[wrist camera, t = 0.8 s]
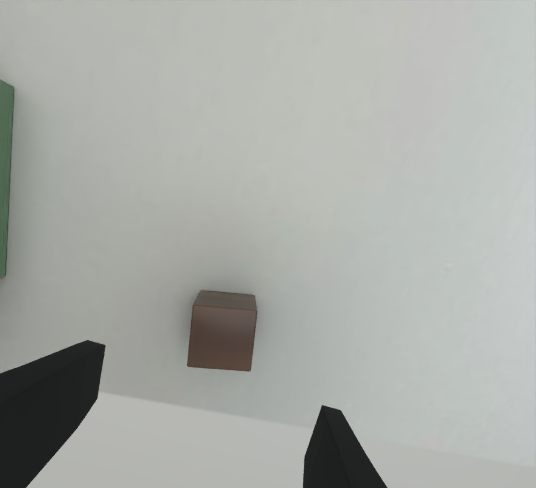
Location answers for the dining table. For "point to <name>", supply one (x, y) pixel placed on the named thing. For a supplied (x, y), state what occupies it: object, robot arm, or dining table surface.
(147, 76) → the dining table surface
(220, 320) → the block
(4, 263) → the carton
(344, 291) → the dining table surface
